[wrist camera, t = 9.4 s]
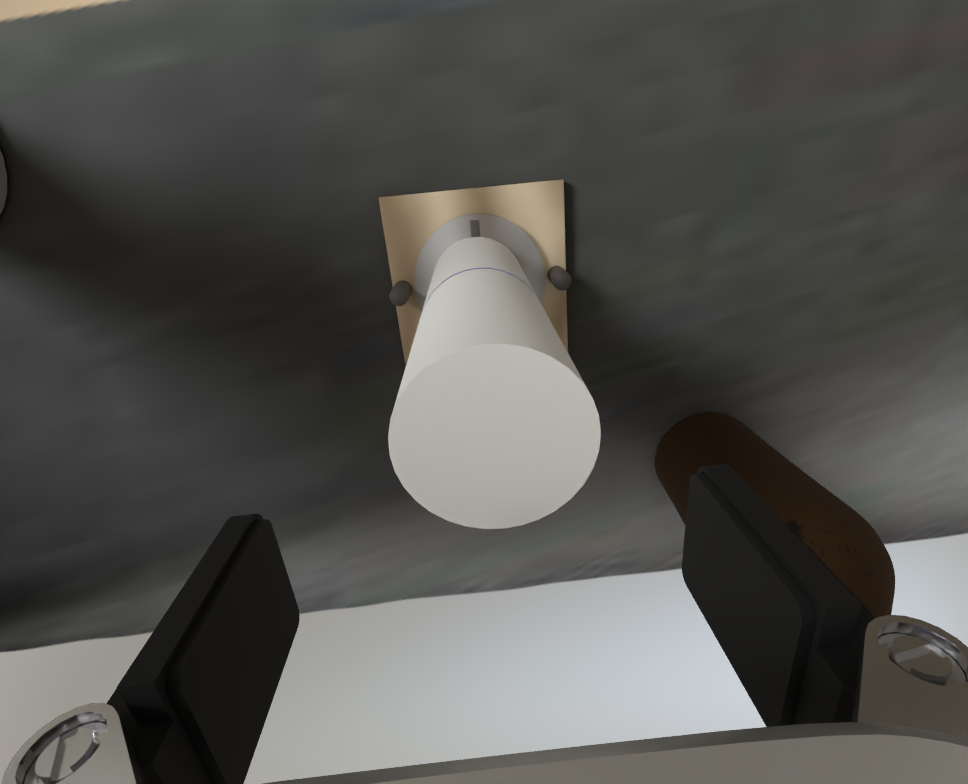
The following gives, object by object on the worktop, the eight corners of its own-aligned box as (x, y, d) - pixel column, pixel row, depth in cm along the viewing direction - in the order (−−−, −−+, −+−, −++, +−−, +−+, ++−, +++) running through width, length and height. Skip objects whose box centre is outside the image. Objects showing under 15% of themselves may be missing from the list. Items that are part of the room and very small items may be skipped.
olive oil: (625, 472, 49) (765, 730, 26) (695, 386, 46) (926, 594, 23) (707, 516, 52) (902, 788, 29) (780, 437, 48) (1066, 673, 25)
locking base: (407, 366, 44) (402, 383, 40) (380, 197, 39) (371, 199, 35) (565, 351, 44) (574, 367, 40) (561, 179, 39) (571, 179, 35)
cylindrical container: (509, 224, 38) (576, 314, 15) (532, 312, 41) (618, 500, 18) (419, 252, 38) (354, 380, 16) (449, 337, 41) (429, 549, 19)
